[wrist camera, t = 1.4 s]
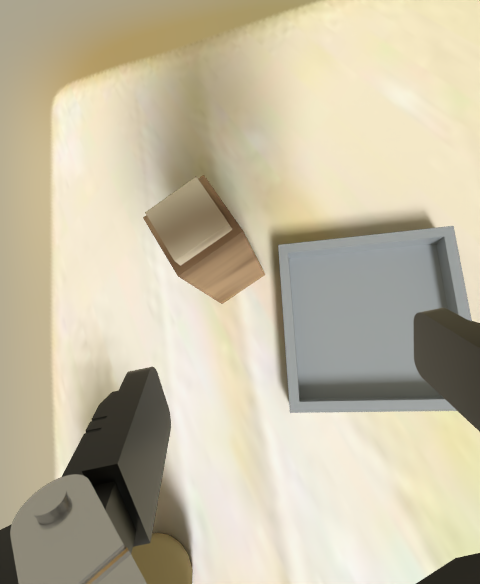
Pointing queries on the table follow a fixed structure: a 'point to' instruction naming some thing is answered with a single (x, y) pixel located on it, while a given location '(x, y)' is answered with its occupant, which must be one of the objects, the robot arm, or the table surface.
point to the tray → (365, 318)
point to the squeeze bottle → (163, 561)
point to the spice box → (204, 241)
